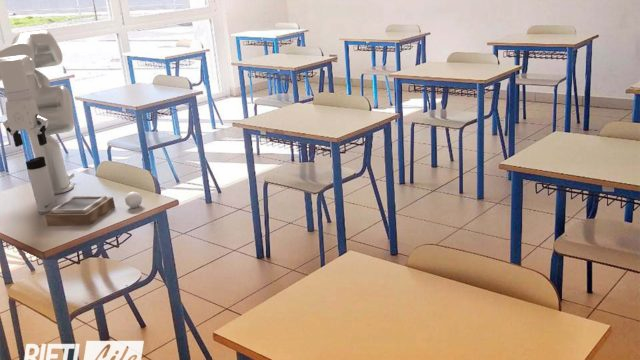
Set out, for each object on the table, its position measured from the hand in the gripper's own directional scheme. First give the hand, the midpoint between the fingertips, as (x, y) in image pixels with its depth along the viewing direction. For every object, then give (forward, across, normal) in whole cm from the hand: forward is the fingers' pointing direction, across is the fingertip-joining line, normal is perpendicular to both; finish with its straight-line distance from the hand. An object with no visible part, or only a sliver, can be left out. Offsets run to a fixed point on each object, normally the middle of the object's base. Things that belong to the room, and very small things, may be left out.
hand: (31, 145), depth 220 cm
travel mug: (+25, 0, +1) cm, 25 cm away
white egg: (+25, +32, +5) cm, 41 cm away
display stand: (+25, +17, -4) cm, 30 cm away
